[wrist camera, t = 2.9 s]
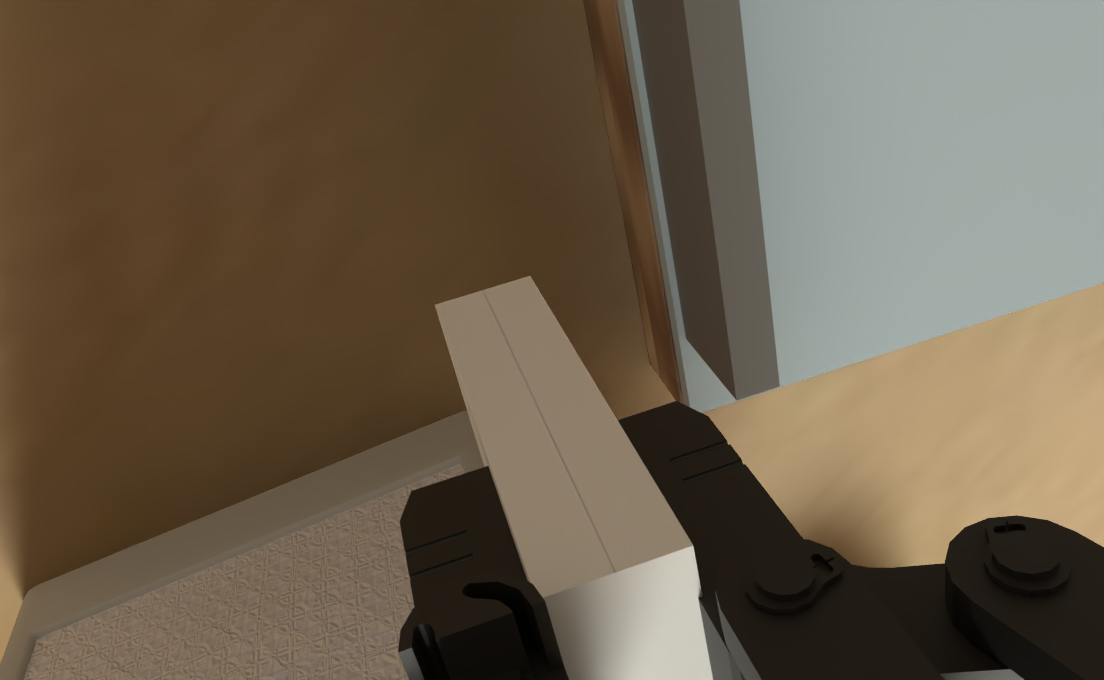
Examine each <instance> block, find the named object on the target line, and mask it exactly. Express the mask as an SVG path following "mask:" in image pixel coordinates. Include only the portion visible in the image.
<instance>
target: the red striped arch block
mask: <svg viewBox="0 0 1104 680" xmlns="http://www.w3.org/2000/svg"><path fill="white" fill-rule="evenodd" d="M483 467H485V466H484V463H483V460H482V457H481V454H480V451H479V448H478V445H477V442H476V438H475V435H474V432H473V428H472V425H471V422H470V419H469V415H468V412H467V410H466V411H461V412H458V413H456V414H453V415H451V416H449V417H446V418H444V419H441V420H439V421H436V422H434V423H431V424H429V425H427V426H424V427H422V428H419V429H417V430H414V431H412V432H409V433H407V434H405V435H402V436H400V437H397V438H395V439H392V440H390V441H388V442H385V443H383V444H380V445H378V446H375V447H373V448H370V449H368V450H366V451H363V452H361V453H358V454H356V455H353V456H351V457H348V458H346V459H344V460H341V461H339V462H336V463H334V464H331V465H329V466H326V467H324V468H322V469H319V470H317V471H314V472H312V473H309V474H307V475H305V476H302V477H300V478H297V479H295V480H292V481H290V482H287V483H285V484H283V485H280V486H278V487H275V488H273V489H270V490H268V491H265V492H263V493H261V494H258V495H256V496H253V497H251V498H248V499H246V500H244V501H241V502H239V503H236V504H234V505H231V506H229V507H226V508H224V509H222V510H219V511H217V512H214V513H212V514H209V515H207V516H204V517H202V518H200V519H197V520H195V521H192V522H190V523H187V524H185V525H183V526H180V527H178V528H175V529H173V530H170V531H168V532H165V533H163V534H161V535H158V536H156V537H153V538H151V539H148V540H146V541H143V542H141V543H139V544H136V545H134V546H131V547H129V548H126V549H124V550H122V551H119V552H117V553H114V554H112V555H109V556H107V557H104V558H102V559H100V560H97V561H95V562H92V563H90V564H87V565H85V566H82V567H80V568H78V569H75V570H73V571H70V572H68V573H65V574H63V575H61V576H58V577H56V578H53V579H51V580H48V581H46V582H43V583H41V584H39V585H36V586H35V587H33V588H32V589H30V590H29V591H28V592H27V594H26V595H25V597H24V600H23V603H22V605H21V608H20V611H19V614H18V617H17V619H16V622H15V625H14V628H13V630H12V633H11V636H10V639H9V642H8V644H7V647H6V650H5V653H4V656H3V658H2V661H1V664H0V680H409V678H408V676H407V673H406V671H405V669H404V666H403V664H402V661H401V659H400V656H399V654H398V648H399V639H400V630H401V628H402V627H403V625H404V623H405V621H406V620H407V618H408V616H409V614H410V613H411V611H412V609H413V608H414V601H413V596H412V590H411V584H410V577H409V573H408V567H407V562H406V554H405V550H404V545H403V539H402V533H401V528H400V522H399V521H400V519H401V516H402V514H403V511H404V508H405V506H406V503H407V501H408V498H409V495H410V493H411V491H413V490H416V489H419V488H422V487H425V486H428V485H431V484H434V483H437V482H440V481H443V480H446V479H449V478H452V477H455V476H458V475H461V474H464V473H467V472H471V471H474V470H477V469H480V468H483Z"/></svg>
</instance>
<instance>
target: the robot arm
mask: <svg viewBox="0 0 1104 680" xmlns="http://www.w3.org/2000/svg"><path fill="white" fill-rule="evenodd" d="M435 307H436V311H437V314H438V317H439V321H440V324H441V327H442V330H443V334H444V337H445V340H446V343H447V347H448V350H449V353H450V357H451V360H452V363H453V366H454V370H455V373H456V376H457V379H458V383H459V386H460V389H461V392H462V396H463V399H464V402H465V406H466V409H467V412H468V415H469V419H470V422H471V425H472V428H473V432H474V435H475V438H476V442H477V445H478V448H479V451H480V454H481V457H482V460H483V463H484V466H485V467H483V468H480V469H477V470H474V471H471V472H467V473H464V474H461V475H458V476H455V477H452V478H449V479H446V480H443V481H440V482H437V483H434V484H431V485H428V486H425V487H422V488H419V489H416V490H413V491H411V493H410V495H409V498H408V501H407V503H406V506H405V508H404V511H403V514H402V516H401V519H400V521H399V522H400V528H401V533H402V539H403V545H404V550H405V554H406V562H407V567H408V573H409V577H410V584H411V590H412V596H413V601H414V608H413V609H412V611H411V613H410V614H409V616H408V618H407V620H406V621H405V623H404V625H403V627H402V628H401V630H400V639H399V648H398V654H399V656H400V659H401V661H402V664H403V666H404V669H405V671H406V673H407V676H408V678H409V680H1104V547H1102V546H1100V545H1098V544H1097V543H1095V542H1093V541H1091V540H1090V539H1088V538H1086V537H1084V536H1082V535H1081V534H1079V533H1077V532H1075V531H1073V530H1070V529H1068V528H1065V527H1063V526H1060V525H1058V524H1055V523H1053V522H1051V521H1048V520H1043V519H1036V518H1029V517H1023V516H1007V517H996V518H987V519H985V520H982V521H980V522H977V523H975V524H972V525H970V526H967V527H965V528H964V529H963V530H962V531H961V532H960V533H959V534H958V535H957V536H956V537H955V538H954V539H953V540H952V541H951V542H950V543H949V547H948V551H947V556H946V560H945V563H944V564H933V565H921V566H909V567H897V568H868V567H862V566H856V565H851V564H850V563H849V562H848V561H847V560H846V559H844V558H843V557H842V556H841V555H840V554H838V553H837V552H836V551H835V550H833V549H832V548H830V547H827V546H824V545H821V544H819V543H816V542H813V541H811V540H807V539H803V538H802V537H801V536H800V534H799V533H798V532H797V530H796V529H795V528H794V527H793V525H792V524H791V523H790V521H789V520H788V519H787V518H786V516H785V515H784V514H783V512H782V511H781V510H780V509H779V507H778V506H777V505H776V503H775V502H774V501H773V499H772V498H771V497H770V496H769V494H768V493H767V492H766V490H765V489H764V488H763V487H762V485H761V484H760V483H759V481H758V480H757V479H756V478H755V476H754V475H753V474H752V472H751V471H750V470H749V468H748V467H747V466H746V465H745V464H744V465H743V463H742V460H741V458H740V457H739V456H738V454H737V453H736V452H735V450H734V449H733V448H732V447H731V445H728V444H727V441H726V439H725V437H724V436H723V435H722V434H721V432H720V431H719V430H718V428H717V427H716V426H715V425H714V423H713V422H712V421H711V419H710V418H709V417H708V416H706V415H704V414H702V413H700V412H698V411H696V410H694V409H692V408H690V407H688V406H686V405H684V404H682V403H680V402H678V401H675V402H672V403H669V404H666V405H663V406H660V407H657V408H654V409H651V410H648V411H645V412H642V413H639V414H636V415H633V416H630V417H627V418H624V419H620V420H617V419H616V417H615V415H614V414H613V412H612V410H611V409H610V407H609V405H608V404H607V402H606V400H605V399H604V397H603V395H602V394H601V392H600V390H599V389H598V387H597V385H596V384H595V382H594V380H593V379H592V377H591V376H590V374H589V372H588V371H587V369H586V367H585V366H584V364H583V362H582V361H581V359H580V357H579V356H578V354H577V352H576V351H575V349H574V347H573V346H572V344H571V342H570V341H569V339H568V337H567V336H566V334H565V332H564V331H563V329H562V328H561V326H560V324H559V323H558V321H557V319H556V318H555V316H554V314H553V313H552V311H551V309H550V308H549V306H548V304H547V303H546V301H545V299H544V298H543V296H542V294H541V293H540V291H539V289H538V288H537V286H536V285H535V283H534V281H533V280H532V278H531V276H528V277H524V278H521V279H518V280H514V281H511V282H508V283H505V284H501V285H498V286H495V287H491V288H488V289H485V290H482V291H478V292H475V293H472V294H468V295H465V296H462V297H459V298H455V299H452V300H449V301H445V302H442V303H439V304H436V305H435Z"/></svg>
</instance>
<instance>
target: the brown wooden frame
mask: <svg viewBox="0 0 1104 680" xmlns="http://www.w3.org/2000/svg"><path fill="white" fill-rule="evenodd" d="M584 6H585V11H586V17H587V22H588V28H589V33H590V39H591V44H592V49H593V55H594V60H595V66H596V71H597V77H598V82H599V88H600V93H601V98H602V104H603V109H604V115H605V120H606V126H607V131H608V137H609V142H610V148H611V153H612V158H613V164H614V169H615V175H616V180H617V186H618V191H619V197H620V202H621V207H622V213H623V218H624V224H625V229H626V235H627V240H628V246H629V251H630V257H631V262H632V267H633V273H634V278H635V284H636V289H637V295H638V300H639V306H640V311H641V316H642V322H643V327H644V333H645V338H646V344H647V349H648V355H649V360H650V364H651V366H652V367H653V369H654V370H655V371H656V373H657V374H658V376H659V377H660V378H661V380H662V381H663V383H664V384H665V386H666V387H667V388H668V390H669V391H670V393H671V394H672V395H673V397H674V398H675V400H676V401H678V402H680V403H682V404H684V400H683V394H682V388H681V382H680V376H679V370H678V364H677V358H676V352H675V346H674V340H673V334H672V328H671V322H670V316H669V310H668V304H667V298H666V292H665V286H664V280H663V274H662V268H661V262H660V256H659V250H658V244H657V238H656V232H655V226H654V220H653V214H652V208H651V202H650V196H649V190H648V184H647V178H646V172H645V166H644V160H643V154H642V148H641V142H640V136H639V130H638V124H637V118H636V112H635V106H634V100H633V94H632V88H631V82H630V76H629V70H628V64H627V58H626V52H625V46H624V40H623V34H622V28H621V22H620V16H619V10H618V4H617V0H584Z"/></svg>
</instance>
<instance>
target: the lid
mask: <svg viewBox="0 0 1104 680" xmlns="http://www.w3.org/2000/svg"><path fill="white" fill-rule="evenodd" d="M617 4H618V10H619V16H620V22H621V28H622V34H623V40H624V46H625V52H626V58H627V64H628V70H629V76H630V82H631V88H632V94H633V100H634V106H635V112H636V118H637V124H638V130H639V136H640V142H641V148H642V154H643V160H644V166H645V172H646V178H647V184H648V190H649V196H650V202H651V208H652V214H653V220H654V226H655V232H656V238H657V244H658V250H659V256H660V262H661V268H662V274H663V280H664V286H665V292H666V298H667V304H668V310H669V316H670V322H671V328H672V334H673V340H674V346H675V352H676V358H677V364H678V370H679V376H680V382H681V388H682V394H683V400H684V405H686V406H688V407H690V408H692V409H694V410H696V411H698V412H700V413H703V412H706V411H710V410H713V409H716V408H719V407H722V406H725V405H728V404H731V403H734V402H737V401H740V400H743V399H747V398H750V397H753V396H756V395H759V394H762V393H765V392H768V391H771V390H774V389H777V388H780V387H784V386H787V385H790V384H793V383H796V382H799V381H802V380H805V379H808V378H811V377H814V376H817V375H821V374H824V373H827V372H830V371H833V370H836V369H839V368H842V367H845V366H848V365H851V364H854V363H858V362H861V361H864V360H867V359H870V358H873V357H876V356H879V355H882V354H885V353H888V352H891V351H895V350H898V349H901V348H904V347H907V346H910V345H913V344H916V343H919V342H922V341H925V340H928V339H932V338H935V337H938V336H941V335H944V334H947V333H950V332H953V331H956V330H959V329H962V328H965V327H969V326H972V325H975V324H978V323H981V322H984V321H987V320H990V319H993V318H996V317H999V316H1002V315H1006V314H1009V313H1012V312H1015V311H1018V310H1021V309H1024V308H1027V307H1030V306H1033V305H1036V304H1039V303H1043V302H1046V301H1049V300H1052V299H1055V298H1058V297H1061V296H1064V295H1067V294H1070V293H1073V292H1076V291H1080V290H1083V289H1086V288H1089V287H1092V286H1095V285H1098V284H1101V283H1104V0H617Z"/></svg>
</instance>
